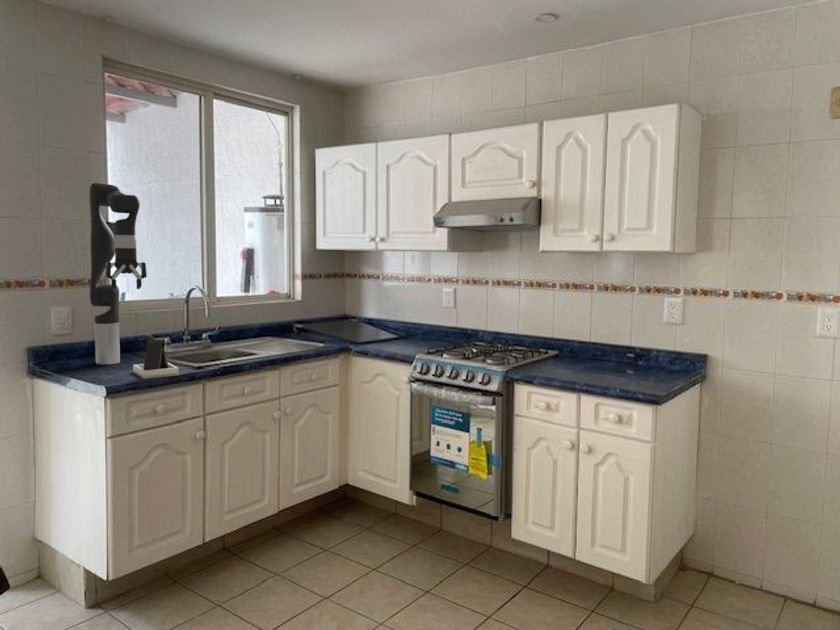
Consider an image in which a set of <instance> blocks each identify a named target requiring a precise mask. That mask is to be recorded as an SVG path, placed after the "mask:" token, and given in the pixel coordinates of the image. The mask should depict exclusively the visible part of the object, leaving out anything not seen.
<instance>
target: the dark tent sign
mask: <svg viewBox="0 0 840 630" xmlns="http://www.w3.org/2000/svg"><path fill="white" fill-rule="evenodd" d="M145 345H146V349H145V356H144V362H143V364H144V368H143V369H144V370H156V369H167V368H168V363H169V362H168V360H167V359H168V358H167V353H166V349H165V347H166V346H165V341H163V340H147V341H146V343H145ZM167 362H168V363H167Z"/></svg>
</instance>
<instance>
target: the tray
mask: <svg viewBox="0 0 840 630" xmlns="http://www.w3.org/2000/svg"><path fill="white" fill-rule="evenodd" d="M167 363H168V368H167V369H156V370H144V369H143V368H144V363H138V364H132V365H133V366H132V369H133V370H132V372H133V373H134V374H135V375H137V376H138V377H140V378H141V379H143V380H145V379H147V378H148V379H158V378H166V377H178V376H179V373H180V372H179V371H180V370H179V367H178V366H176V365H174V364H173V363H170V362H168V361H167ZM157 377H158V378H157Z"/></svg>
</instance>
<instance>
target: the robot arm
mask: <svg viewBox="0 0 840 630" xmlns="http://www.w3.org/2000/svg"><path fill="white" fill-rule="evenodd" d="M89 205H90V206H89V207H90V210H89V211H90V224H91V225H90V260H91V261H90V264H91V265H90V266H91V267H90V268H91V269H90V285H89V302H90V304H91V306H92V307H109V309H108V310H107V311H105V312H103V313H99V314H97V315H95V316H94V341H95V342H94V345H95V346H94V347H95V364H96V365H101V366H102V365H105V366H106V365H116V364H119V363H121V355H120V354H121V348H120V346H121V343H120V317H119V316H120V310H119V309H120V288H119V286H118V285H117V277H119V275H120V274H125V275H126V274H133V276H134V277H135V278H136V281H135V282H136V289H137V290H140V289H141V288H142V280H143V279H145V278H147V266H146V265H147V264H146V263H145V262H144V261H141V262H138V261H137V260H138V259H137V258H138V257H137V238H136V223H137V218H138V217H137V216H138V213H139V210H140V206H141V202H140V199H139V197H138V196H136V195H133V194H125V193H123V192H122V191H121V190H120V188H119V187H118V186H116V185H114V184H109V183H108V184H107V183H99V182H93V183H91V185H90V187H89ZM100 207H109V208H110V210H111V212H113V213H115V214H116V213H118V214H128V216H127V217H126V218H121V219H117V220H115V221H114V224H115V227H114V230H115V231H114V232H115V234H114V232H113V231H112V230H111V228H110V227H109V225H108V224H107V222H106V221H105V219H104V217H103V214H102V212H101V208H100ZM113 258H114V262H112V260H113ZM113 267H115V269H116V270H115V271H114V272H113V273H112V275H111V270H112V268H113ZM137 268H140V270H141V271H140V272H141V274H140V273H139V272H138V271H137ZM104 272H105V278H106V279H110V281H111V282H110V284H105V283H104V284H103V283H102V284H100V283H101V278H102V276H103V273H104Z"/></svg>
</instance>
